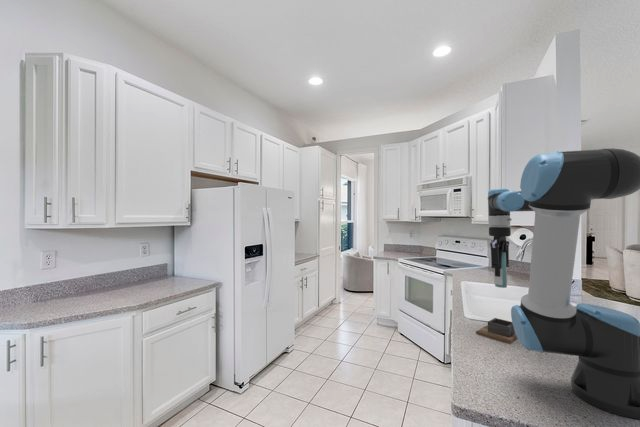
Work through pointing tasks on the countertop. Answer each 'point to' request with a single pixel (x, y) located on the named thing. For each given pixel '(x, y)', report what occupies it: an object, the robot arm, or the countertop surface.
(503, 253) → the dowel
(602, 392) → the robot arm
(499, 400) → the countertop surface
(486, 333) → the bracket board
